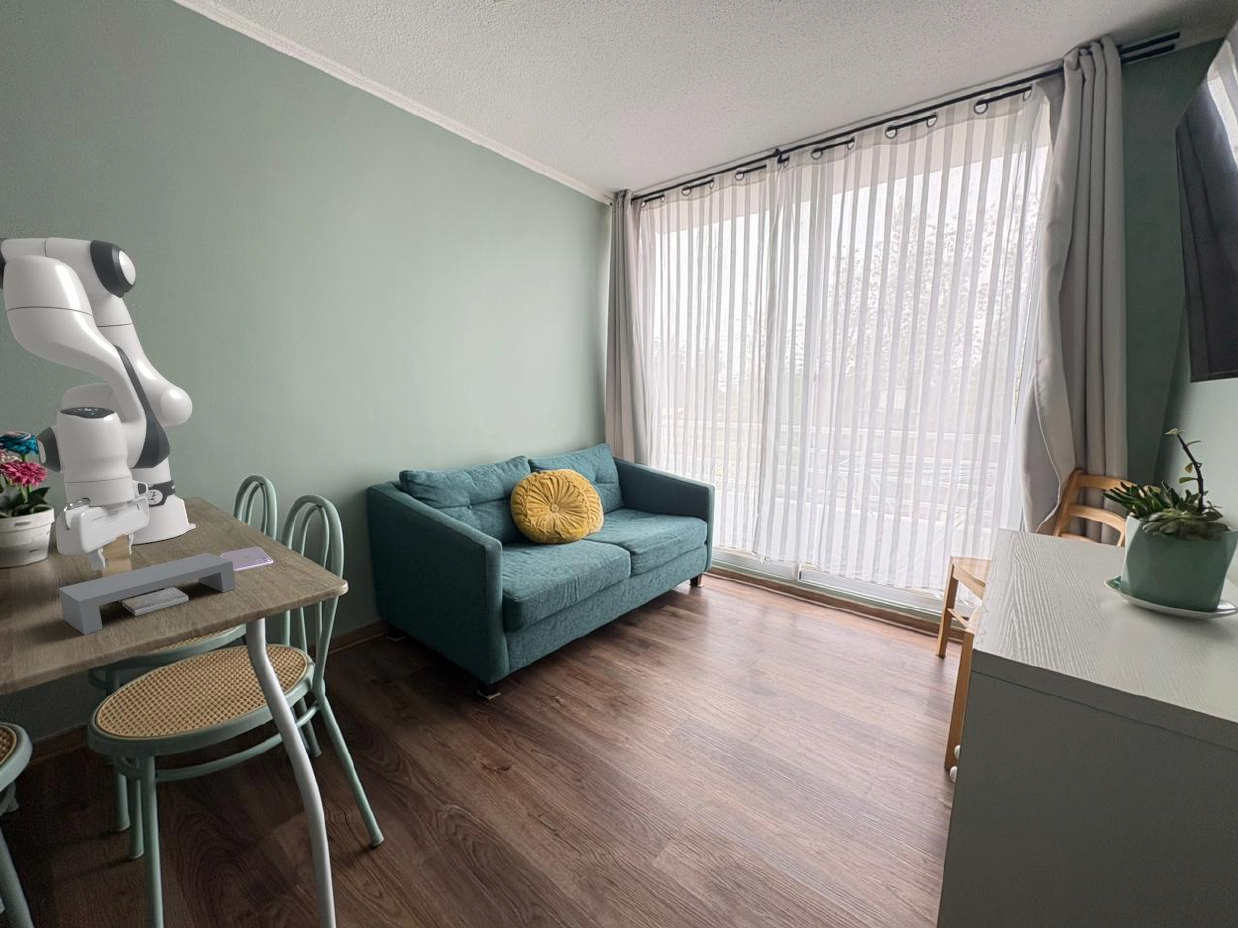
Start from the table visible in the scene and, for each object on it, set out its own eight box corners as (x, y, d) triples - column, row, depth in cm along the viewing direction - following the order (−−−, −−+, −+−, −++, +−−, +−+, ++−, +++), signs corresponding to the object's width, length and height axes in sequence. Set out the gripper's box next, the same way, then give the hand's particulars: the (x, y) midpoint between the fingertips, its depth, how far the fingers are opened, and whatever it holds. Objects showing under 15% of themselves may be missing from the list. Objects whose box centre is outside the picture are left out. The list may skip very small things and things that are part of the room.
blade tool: (90, 583, 93) (82, 538, 91) (132, 573, 98) (126, 530, 96) (120, 602, 85) (112, 554, 83) (164, 590, 90) (158, 544, 88)
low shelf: (63, 619, 79) (58, 588, 78) (211, 578, 97) (208, 552, 96) (84, 634, 74) (78, 601, 74) (235, 588, 92) (232, 561, 91)
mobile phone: (259, 544, 116) (274, 560, 105) (259, 548, 116) (275, 564, 106) (218, 552, 110) (230, 569, 100) (219, 556, 110) (231, 573, 100)
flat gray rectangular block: (123, 608, 85) (122, 600, 84) (175, 594, 90) (174, 587, 90) (135, 618, 81) (134, 610, 81) (189, 603, 87) (188, 595, 86)
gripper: (84, 504, 83) (97, 580, 85) (152, 482, 102) (161, 545, 104) (35, 506, 81) (49, 584, 83) (114, 484, 100) (124, 548, 102)
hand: (112, 562), depth 94 cm, fingers closed on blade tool, 6 cm apart
